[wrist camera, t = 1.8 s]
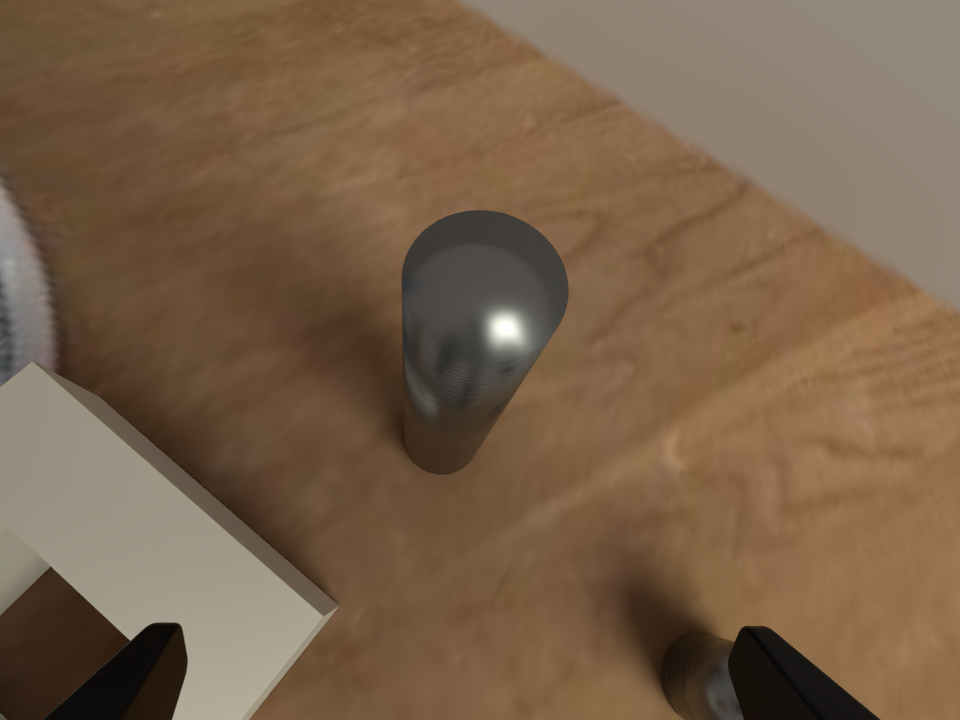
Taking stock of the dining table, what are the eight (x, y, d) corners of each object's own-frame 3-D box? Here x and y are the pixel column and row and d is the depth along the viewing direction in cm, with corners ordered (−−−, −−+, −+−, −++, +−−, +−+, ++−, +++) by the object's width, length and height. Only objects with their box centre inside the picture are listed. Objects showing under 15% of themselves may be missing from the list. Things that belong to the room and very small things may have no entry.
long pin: (494, 431, 22) (599, 275, 10) (447, 490, 21) (503, 395, 9) (436, 385, 23) (472, 183, 10) (388, 442, 22) (365, 287, 9)
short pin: (753, 668, 20) (843, 696, 16) (716, 746, 19) (802, 797, 15) (686, 615, 21) (757, 629, 17) (646, 688, 20) (712, 723, 15)
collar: (339, 605, 19) (323, 616, 16) (38, 983, 15) (-82, 1122, 11) (99, 397, 21) (32, 360, 17) (-237, 690, 17) (-424, 728, 13)
